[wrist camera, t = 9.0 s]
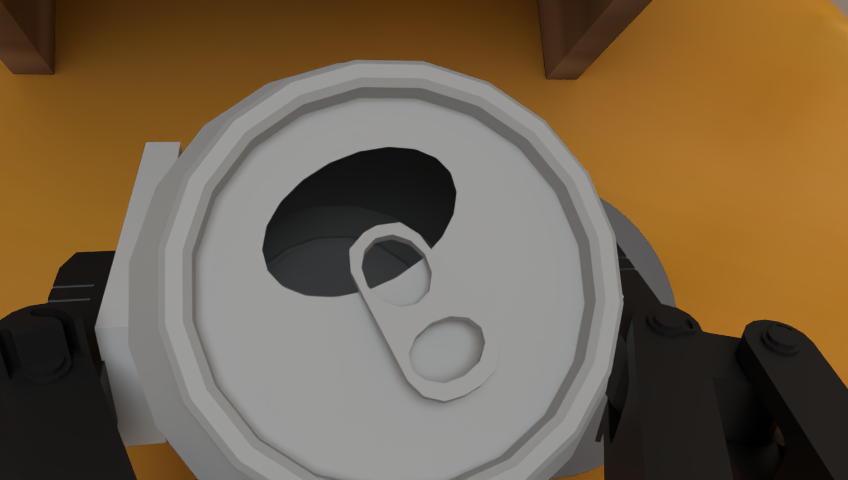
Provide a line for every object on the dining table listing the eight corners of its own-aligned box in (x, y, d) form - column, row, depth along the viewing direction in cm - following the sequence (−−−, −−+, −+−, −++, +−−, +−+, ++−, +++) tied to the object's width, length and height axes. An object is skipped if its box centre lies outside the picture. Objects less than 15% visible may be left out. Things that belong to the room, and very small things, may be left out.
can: (384, 169, 22) (495, -71, 11) (509, 383, 22) (773, 377, 10) (153, 289, 20) (-19, 155, 9) (285, 529, 20) (289, 730, 8)
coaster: (401, 492, 23) (404, 494, 22) (381, 185, 25) (383, 181, 24) (688, 461, 25) (697, 462, 24) (649, 180, 27) (657, 175, 26)
